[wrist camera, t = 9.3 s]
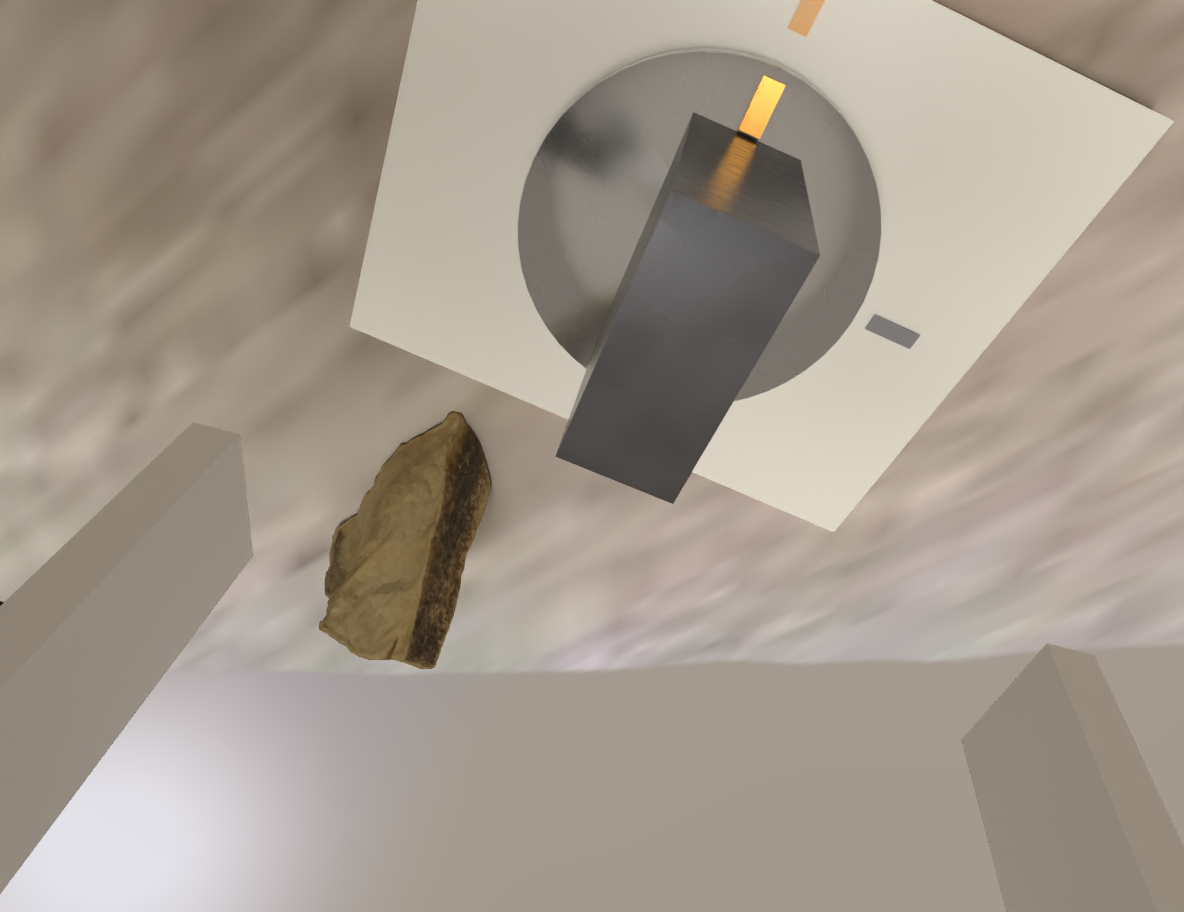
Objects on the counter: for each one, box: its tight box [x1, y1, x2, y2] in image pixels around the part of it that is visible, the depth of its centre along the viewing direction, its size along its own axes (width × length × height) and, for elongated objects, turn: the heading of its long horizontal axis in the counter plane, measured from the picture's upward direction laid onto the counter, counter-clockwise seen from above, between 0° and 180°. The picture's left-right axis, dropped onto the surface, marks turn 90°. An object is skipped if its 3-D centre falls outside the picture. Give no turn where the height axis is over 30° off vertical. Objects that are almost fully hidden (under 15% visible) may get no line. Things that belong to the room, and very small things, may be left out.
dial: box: [518, 47, 881, 504], centre depth 23 cm, size 12×12×9 cm
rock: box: [319, 412, 491, 669], centre depth 35 cm, size 11×9×10 cm
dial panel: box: [350, 0, 1174, 532], centre depth 27 cm, size 22×18×2 cm
